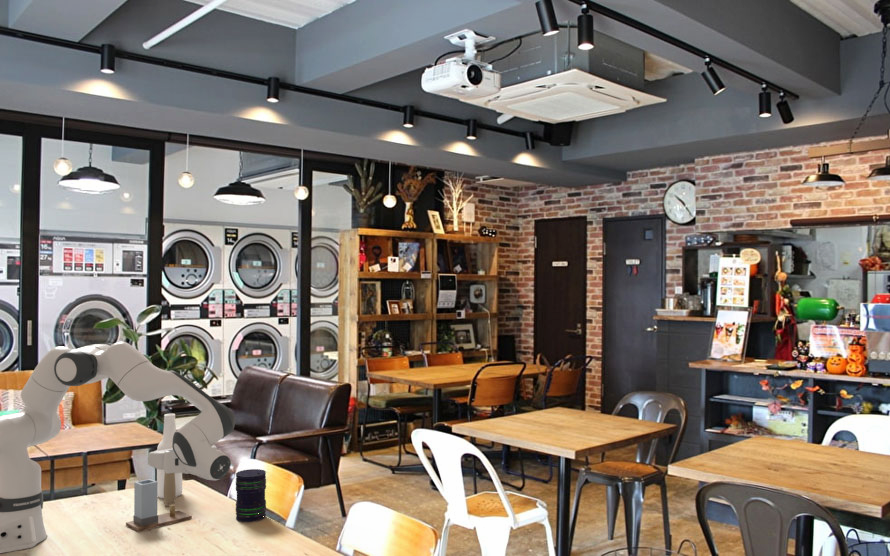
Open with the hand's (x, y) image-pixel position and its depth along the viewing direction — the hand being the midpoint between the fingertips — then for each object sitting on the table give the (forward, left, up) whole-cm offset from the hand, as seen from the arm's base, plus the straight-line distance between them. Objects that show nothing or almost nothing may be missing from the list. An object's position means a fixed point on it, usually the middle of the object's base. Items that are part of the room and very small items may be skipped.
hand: (171, 450), depth 230 cm
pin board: (+3, +15, -26) cm, 30 cm away
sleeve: (-1, +14, -25) cm, 29 cm away
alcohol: (+20, +42, -26) cm, 53 cm away
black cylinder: (+26, -3, -26) cm, 37 cm away
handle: (+14, +30, -26) cm, 42 cm away
